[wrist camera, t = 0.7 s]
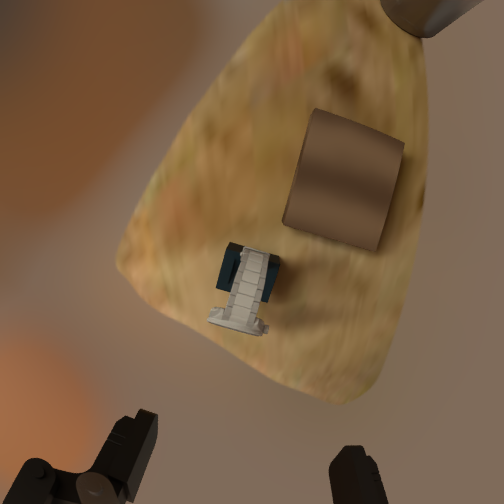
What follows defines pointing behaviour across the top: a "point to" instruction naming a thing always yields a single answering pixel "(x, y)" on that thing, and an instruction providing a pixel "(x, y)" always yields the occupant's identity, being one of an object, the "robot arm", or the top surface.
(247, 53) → the top surface
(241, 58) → the top surface
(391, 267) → the top surface
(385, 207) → the plinth
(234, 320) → the watch
